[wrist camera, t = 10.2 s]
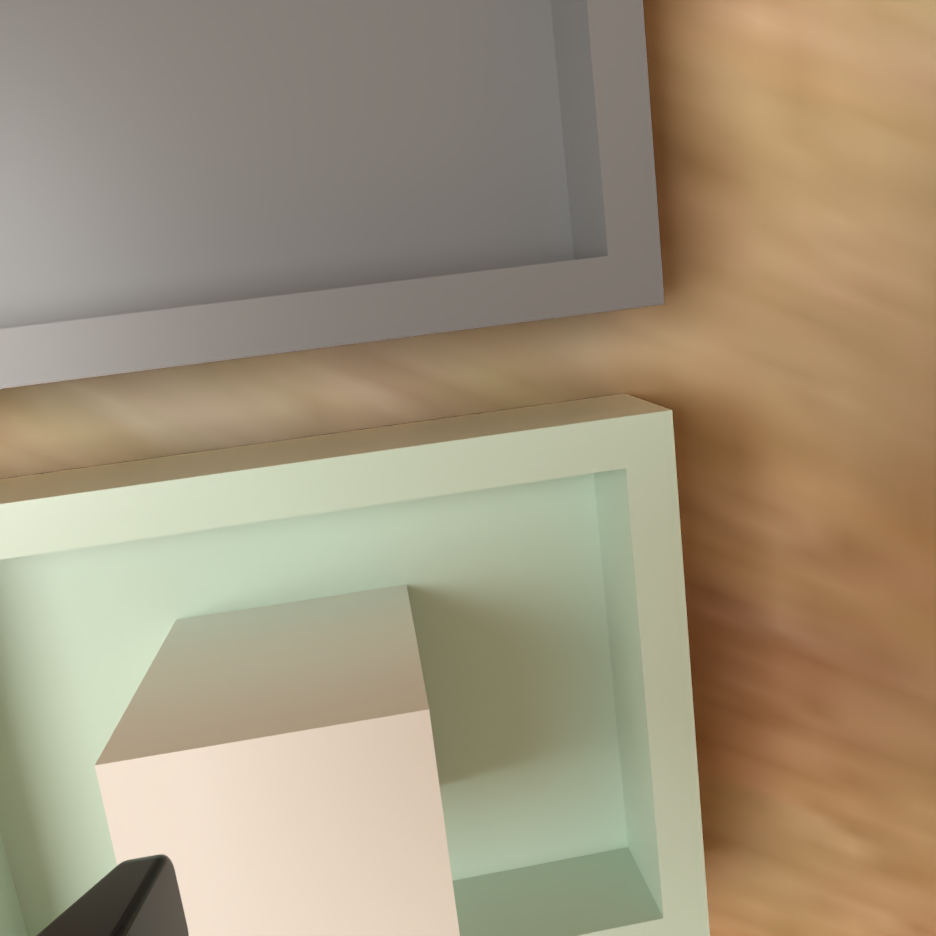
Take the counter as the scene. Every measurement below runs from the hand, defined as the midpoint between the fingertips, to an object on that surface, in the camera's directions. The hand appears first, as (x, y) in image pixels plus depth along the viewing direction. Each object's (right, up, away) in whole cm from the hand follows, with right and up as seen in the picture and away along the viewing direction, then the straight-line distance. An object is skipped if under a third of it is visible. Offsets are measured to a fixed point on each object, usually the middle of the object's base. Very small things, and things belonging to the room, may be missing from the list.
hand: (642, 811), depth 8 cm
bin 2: (-5, -2, +12) cm, 13 cm away
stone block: (-5, -2, +11) cm, 12 cm away
